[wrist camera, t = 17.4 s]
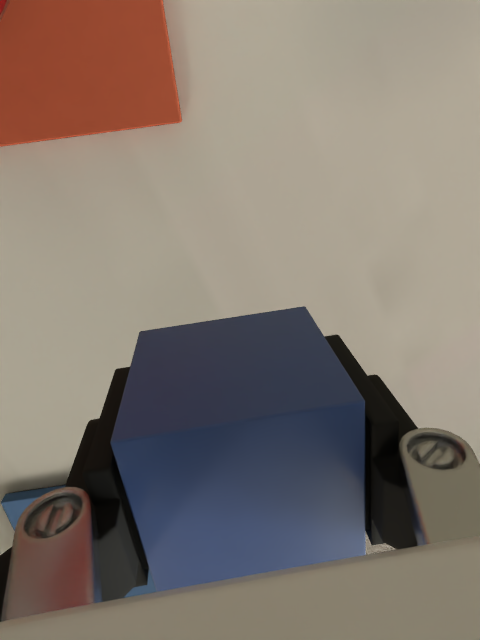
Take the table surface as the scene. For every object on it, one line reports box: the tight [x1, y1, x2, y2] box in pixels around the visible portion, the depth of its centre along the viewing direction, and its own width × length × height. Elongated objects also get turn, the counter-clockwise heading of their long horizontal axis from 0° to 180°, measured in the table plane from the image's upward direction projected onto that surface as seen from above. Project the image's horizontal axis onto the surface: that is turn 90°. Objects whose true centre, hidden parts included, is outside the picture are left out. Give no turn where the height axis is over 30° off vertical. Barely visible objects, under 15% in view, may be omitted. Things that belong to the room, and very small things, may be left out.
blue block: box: [110, 307, 365, 592], centre depth 10 cm, size 4×4×4 cm
